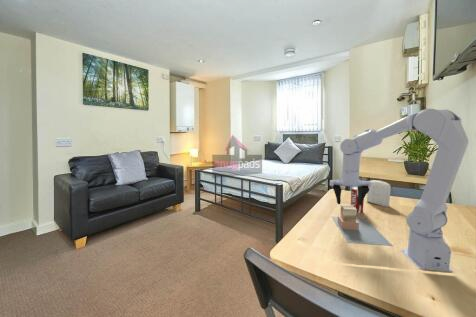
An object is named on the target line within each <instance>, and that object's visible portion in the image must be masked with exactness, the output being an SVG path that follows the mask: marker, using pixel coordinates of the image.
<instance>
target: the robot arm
mask: <svg viewBox="0 0 476 317" xmlns="http://www.w3.org/2000/svg"><path fill="white" fill-rule="evenodd" d="M409 130H410V131H415V130H416V131H418V132H420V133H422V134H424V135H426V136H428V137H429V138H430V139H431V140H432V141H433V142H435V144H436V145H437V146H438V147H437V150H436V154H435V156H434V158H433V161H432V165H431V168H430V171H429V173H428V176H427V180H426V182H425V185H424V188H423V191H422V194H421V197H420V199H419V200H418V202H417V203H416V204H415V206H414V208H413V210H412V211H411V212H410V213H409V214H408V215H407V216H406V218H405V220H406V224H407V226H408V228H409V231H408V241H407V243H408V244H407V249H402V248H401V249H400V251H401V252H402V253H403V254H404V256H406V258H408V259H409V260H410V261H411V262H412V263H413V264H414V265H415V266H416V267H417V268H418V269H420V270H428V271H429V270H430V271H439V272H451V273H453V269H451V268H450V262H451V255H452V249H451V248H450V246H449V244H447V243H446V241H445V240H444V236H443V234H444V233H443V231H442V228H443V227H445V226H446V225H447V223H448V216H447V212H448V206H447V204H446V203H447V202H448V201H447V200H448V197H449V195H450V193H451V191H452V190H451V189H452V188H453V185H454V182H455V180H456V177H457V174H458V172H459V168H460V166H461V163H462V161H463V158H464V156H465V153H466V151H467V147H468V145H469V138H468V136H467V134H466V130H465V129H464V127H463V124H462V118H461V117H460V116H458V115H457V114H456V113H455V112H453V111H451V110H449V109H436V108H426V109H422V110H420V111H419V112H415V113H411V114H409V115H407V116H405V117H403V118H401V119H399V120H397V121H395V122H393V123H391V124H389V125H386V126H384V127H382V128H380V129H378V130H377V129H373V128H372V129H370V128H368V129H365V130H364V132H363V133H360V134H358V135H353V136H352V138H344V140H343V141H341V143H340V146H339V148H340V151H341V152H342V173H341V174H342V175H341V179H330V180H329V186H330V187H331V188H332V189H333V192H334V195H335V198H336V203H337V204H338V205H341V196H342V188H341V187H358V204H359V205H362V202H363V199H365V197H367V193H368V192H369V188H368V187H371V185H372V182H370V181H371V180H359V179H360V167H361V166H360V165H361V163H360V162H361V156H362V153H363V151H366V150H369V149H371V148H374V147H376V146H379V145H381V144H382V141H383V140H384V139H387V138H390V137H393V136H395V135H398V134H401V133H404V132H407V131H409Z"/></svg>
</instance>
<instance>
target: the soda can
mask: <svg viewBox="0 0 476 317" xmlns="http://www.w3.org/2000/svg"><path fill="white" fill-rule="evenodd" d="M351 187H352V188H351V190H350V205H353V206H354V207H355V208H356V209H357V214H363V213H364V201H365V200H364V199H365V198H364V199H363V202H362V205H359V204H358V186H351Z"/></svg>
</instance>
